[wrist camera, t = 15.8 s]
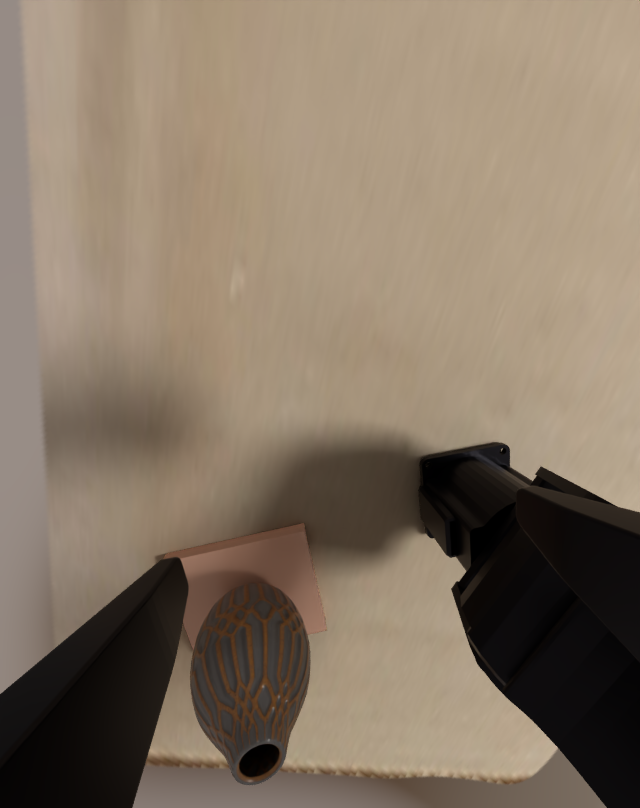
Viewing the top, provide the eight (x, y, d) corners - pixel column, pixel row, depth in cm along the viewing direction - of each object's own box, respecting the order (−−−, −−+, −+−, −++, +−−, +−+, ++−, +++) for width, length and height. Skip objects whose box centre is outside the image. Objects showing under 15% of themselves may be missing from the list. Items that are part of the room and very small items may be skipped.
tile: (304, 531, 22) (326, 630, 24) (303, 518, 23) (324, 612, 25) (160, 563, 21) (197, 661, 23) (169, 547, 23) (202, 641, 25)
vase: (308, 623, 24) (349, 769, 15) (218, 668, 22) (210, 857, 14) (280, 548, 22) (309, 668, 14) (181, 593, 21) (147, 755, 12)
